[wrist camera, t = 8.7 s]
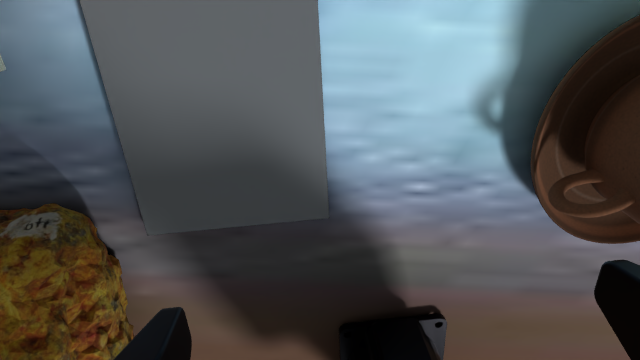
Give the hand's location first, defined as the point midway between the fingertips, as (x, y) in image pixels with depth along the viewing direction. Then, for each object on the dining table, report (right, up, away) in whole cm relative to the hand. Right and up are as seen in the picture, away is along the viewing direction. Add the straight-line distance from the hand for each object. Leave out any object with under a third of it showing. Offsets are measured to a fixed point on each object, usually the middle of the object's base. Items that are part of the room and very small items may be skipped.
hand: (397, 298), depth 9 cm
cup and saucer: (+14, +6, +13) cm, 20 cm away
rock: (-15, -3, +14) cm, 21 cm away
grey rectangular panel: (-6, +6, +10) cm, 13 cm away
